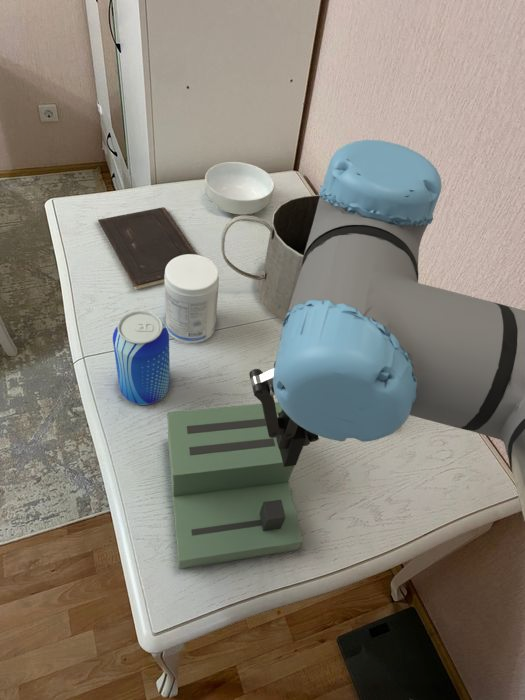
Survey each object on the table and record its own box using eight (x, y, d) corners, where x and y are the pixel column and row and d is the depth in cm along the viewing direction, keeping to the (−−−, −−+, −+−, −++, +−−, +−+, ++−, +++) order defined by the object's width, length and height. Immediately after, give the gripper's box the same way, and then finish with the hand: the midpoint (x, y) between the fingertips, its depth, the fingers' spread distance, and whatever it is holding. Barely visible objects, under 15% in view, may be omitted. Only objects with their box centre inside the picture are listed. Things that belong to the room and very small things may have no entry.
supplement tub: (186, 303, 102) (187, 245, 91) (224, 324, 99) (230, 267, 88) (155, 331, 96) (152, 273, 85) (195, 354, 94) (198, 297, 82)
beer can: (147, 417, 84) (142, 356, 71) (109, 392, 86) (98, 328, 74) (179, 385, 89) (180, 323, 76) (143, 362, 91) (138, 298, 79)
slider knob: (280, 528, 70) (285, 517, 67) (262, 531, 69) (266, 520, 66) (277, 510, 72) (281, 499, 69) (259, 513, 71) (263, 501, 68)
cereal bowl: (218, 229, 119) (220, 204, 114) (194, 190, 128) (195, 165, 123) (281, 219, 125) (286, 194, 120) (254, 182, 134) (257, 158, 129)
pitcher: (376, 329, 104) (421, 230, 85) (226, 341, 97) (238, 235, 78) (342, 257, 118) (373, 158, 99) (208, 262, 111) (215, 156, 92)
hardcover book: (134, 293, 102) (133, 285, 100) (99, 228, 114) (97, 219, 112) (206, 275, 108) (207, 267, 106) (165, 214, 120) (165, 206, 118)
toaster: (297, 551, 72) (312, 523, 65) (178, 570, 69) (179, 543, 61) (271, 437, 84) (281, 401, 76) (168, 448, 80) (167, 411, 72)
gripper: (386, 291, 47) (328, 424, 65) (250, 298, 44) (229, 435, 62) (417, 353, 42) (346, 477, 60) (268, 365, 40) (240, 492, 57)
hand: (287, 456), depth 61 cm, fingers closed
